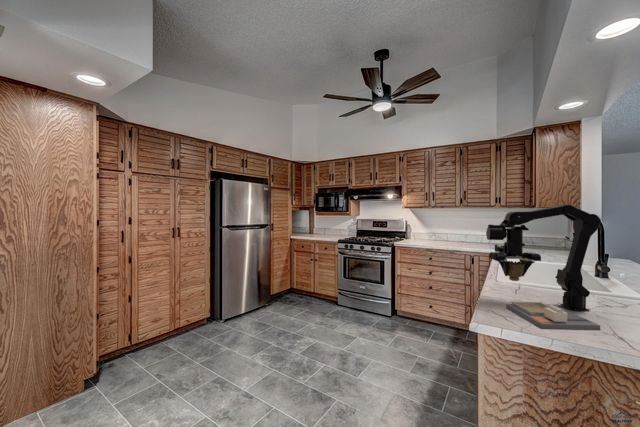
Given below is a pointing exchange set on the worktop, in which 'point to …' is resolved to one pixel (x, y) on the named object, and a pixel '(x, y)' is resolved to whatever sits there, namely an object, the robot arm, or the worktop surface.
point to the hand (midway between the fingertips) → (514, 276)
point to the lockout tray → (531, 307)
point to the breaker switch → (555, 314)
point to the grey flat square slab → (544, 322)
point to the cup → (515, 270)
